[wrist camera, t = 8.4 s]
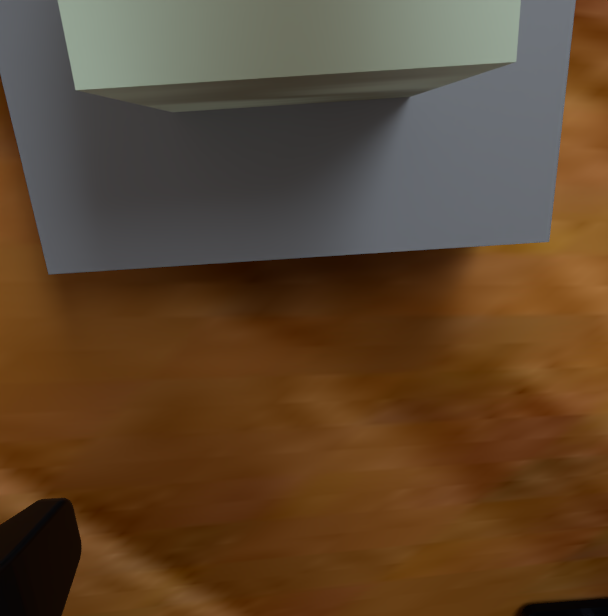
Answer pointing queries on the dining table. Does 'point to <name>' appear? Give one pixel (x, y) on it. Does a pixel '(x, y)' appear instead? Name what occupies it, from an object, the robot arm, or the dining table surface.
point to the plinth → (284, 161)
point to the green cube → (281, 49)
